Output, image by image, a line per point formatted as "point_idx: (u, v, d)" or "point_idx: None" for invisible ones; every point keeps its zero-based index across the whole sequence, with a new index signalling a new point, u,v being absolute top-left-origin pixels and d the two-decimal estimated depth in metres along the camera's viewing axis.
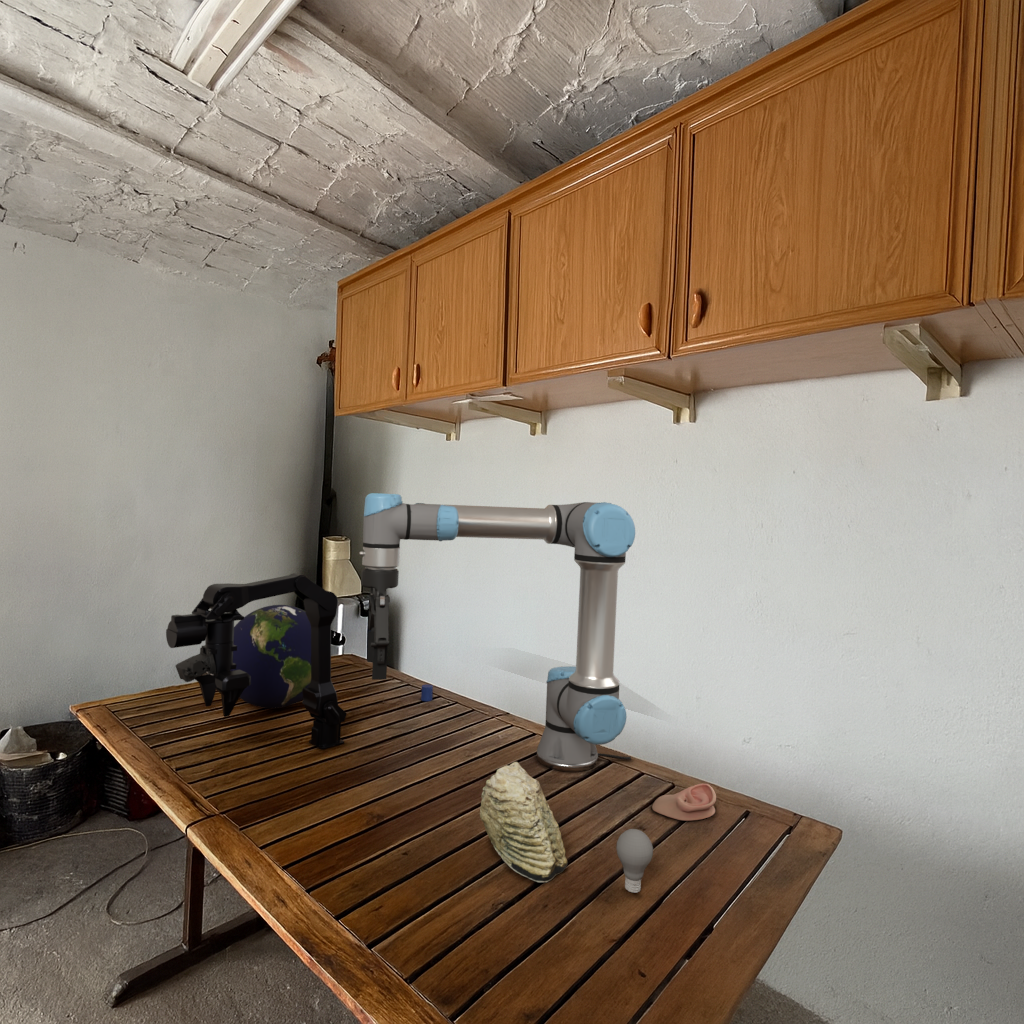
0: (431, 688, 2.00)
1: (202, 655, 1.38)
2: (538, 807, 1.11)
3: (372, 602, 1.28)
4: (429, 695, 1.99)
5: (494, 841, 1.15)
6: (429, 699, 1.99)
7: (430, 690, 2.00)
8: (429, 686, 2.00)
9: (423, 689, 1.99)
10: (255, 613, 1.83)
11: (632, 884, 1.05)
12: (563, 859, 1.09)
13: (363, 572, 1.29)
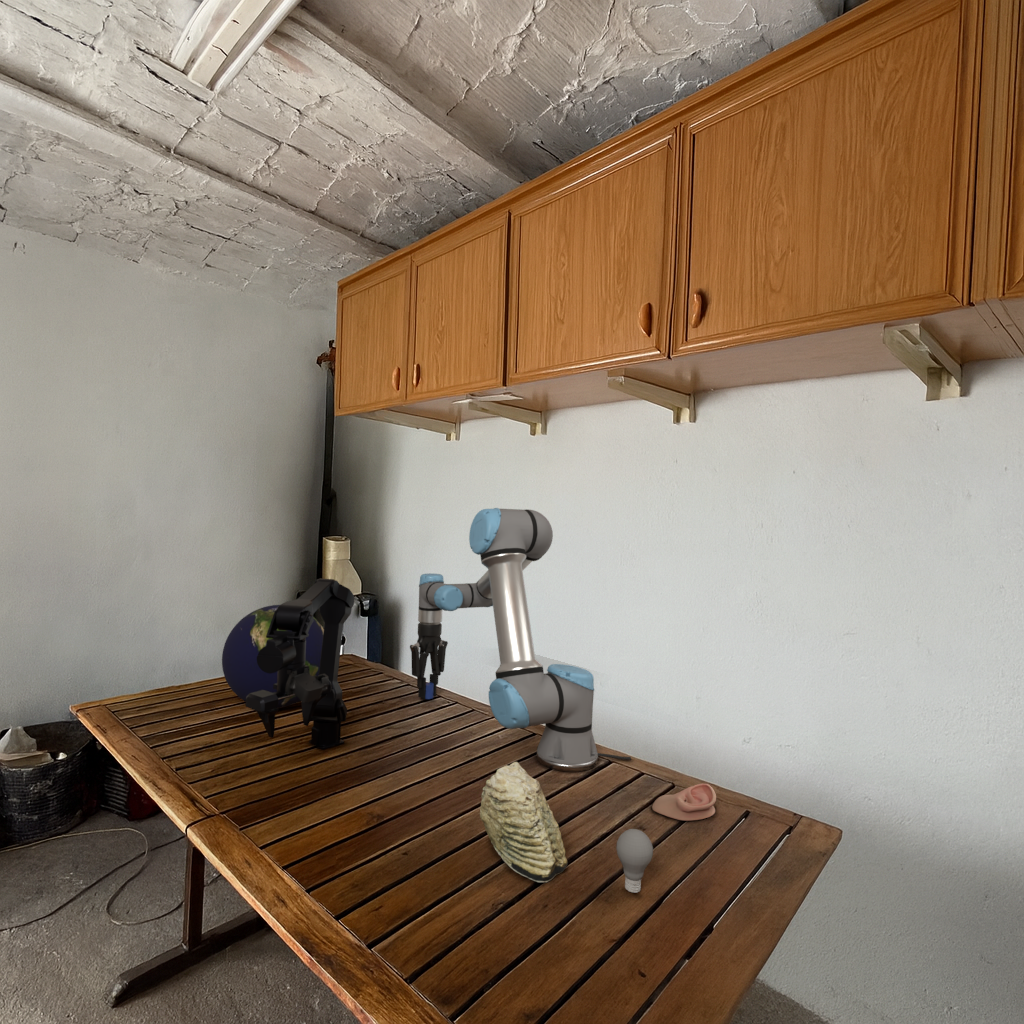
0: (432, 686, 2.00)
1: (301, 676, 1.38)
2: (538, 807, 1.11)
3: None
4: (430, 692, 1.99)
5: (494, 841, 1.15)
6: (430, 697, 1.99)
7: (431, 688, 1.99)
8: (430, 684, 2.00)
9: None
10: (255, 613, 1.83)
11: (632, 884, 1.05)
12: (563, 859, 1.09)
13: None
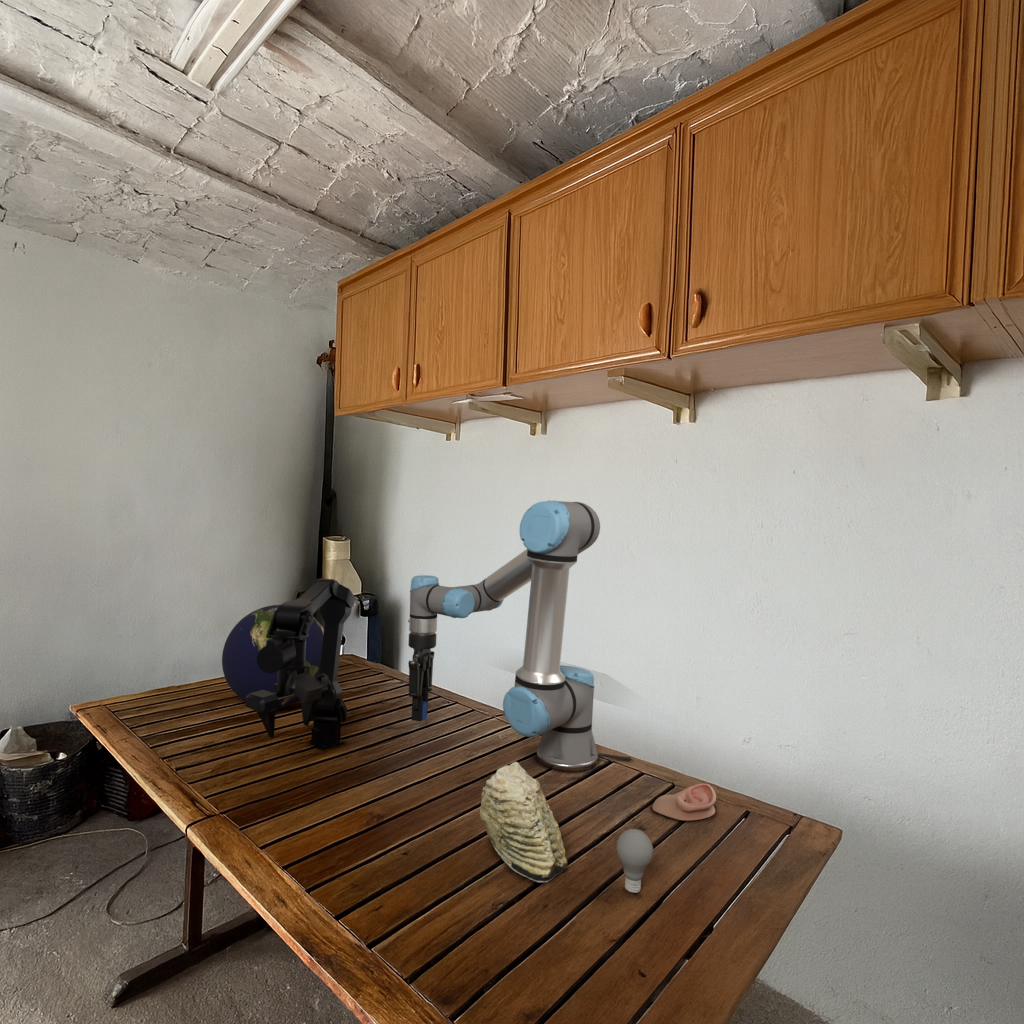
0: None
1: (301, 676, 1.38)
2: (538, 807, 1.11)
3: None
4: (426, 712, 1.73)
5: (494, 841, 1.15)
6: (425, 718, 1.72)
7: (426, 707, 1.73)
8: (424, 702, 1.73)
9: None
10: (255, 613, 1.83)
11: (632, 884, 1.05)
12: (563, 859, 1.09)
13: None
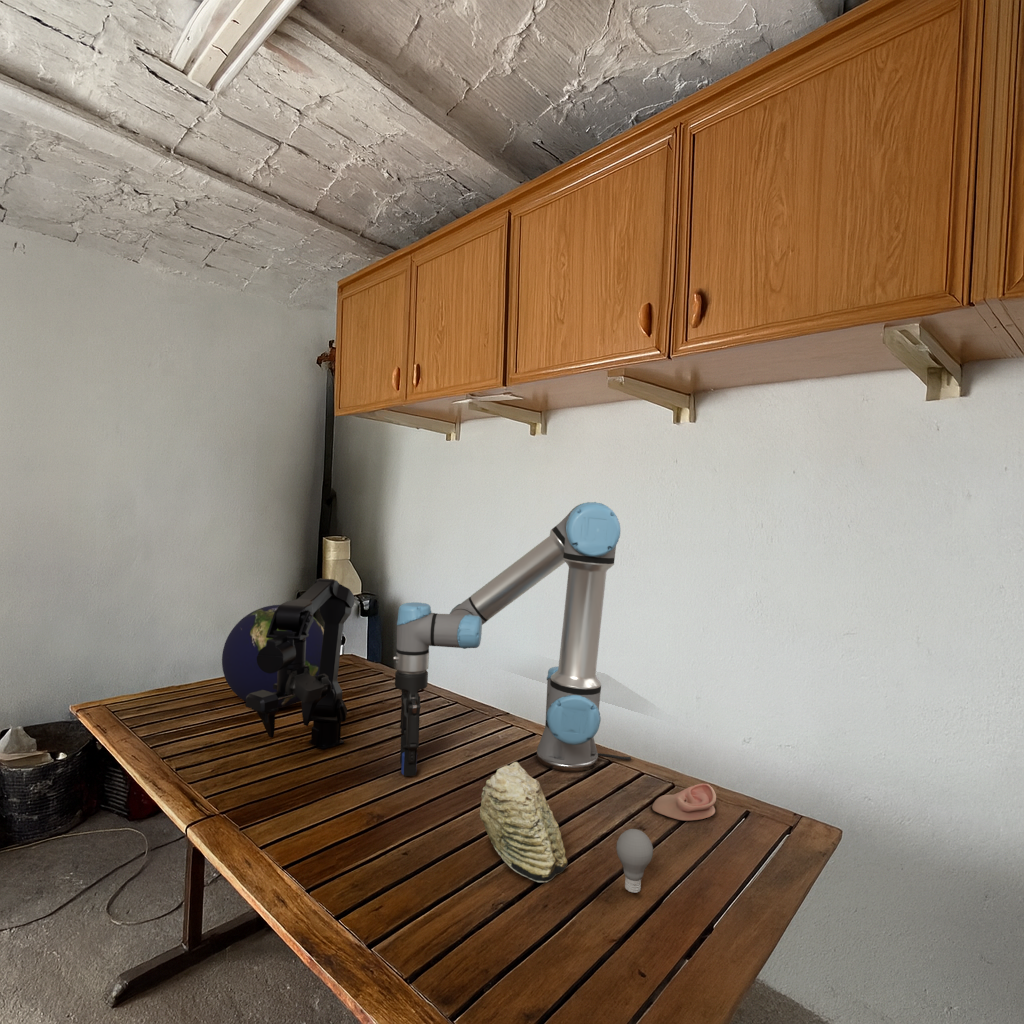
0: None
1: (301, 676, 1.38)
2: (538, 807, 1.11)
3: (405, 704, 1.45)
4: (416, 763, 1.48)
5: (494, 841, 1.15)
6: None
7: None
8: None
9: None
10: (255, 613, 1.83)
11: (632, 884, 1.05)
12: (563, 859, 1.09)
13: (397, 676, 1.45)
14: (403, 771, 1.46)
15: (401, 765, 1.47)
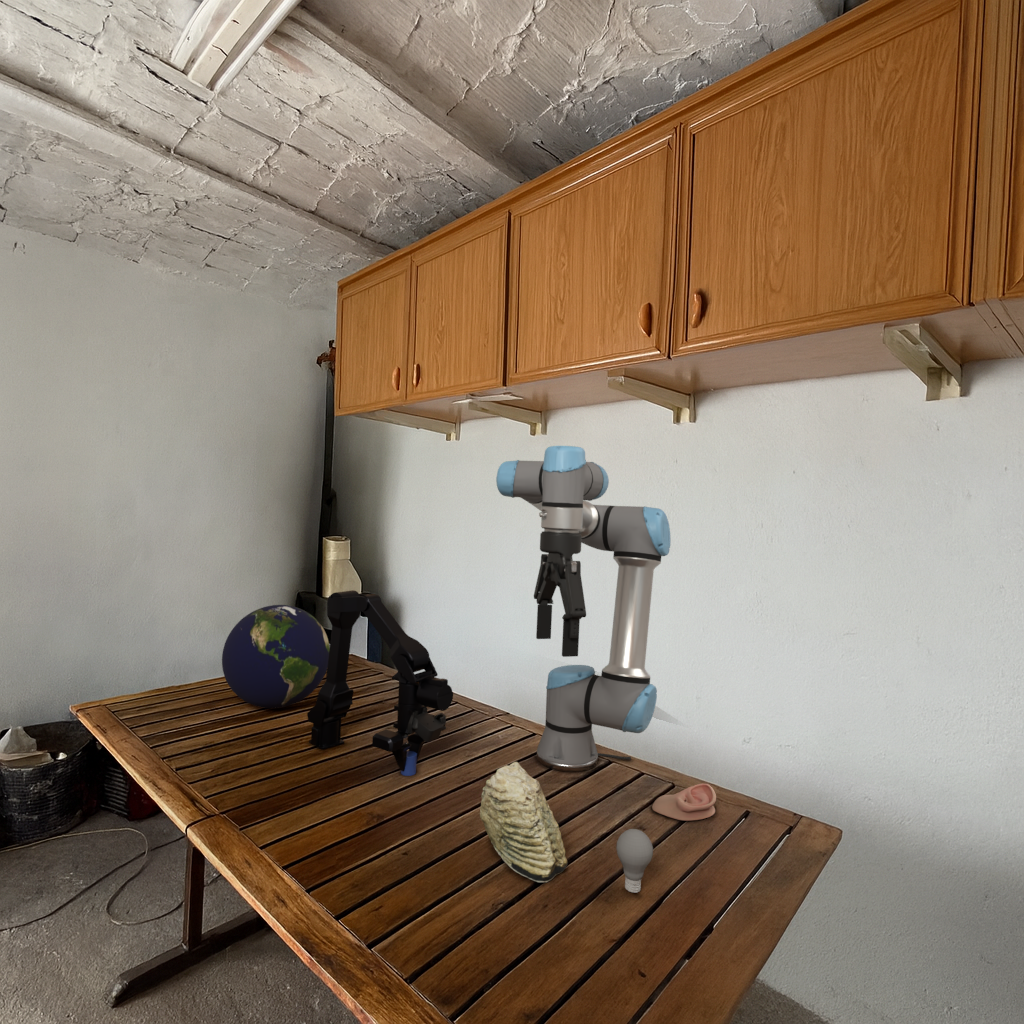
0: None
1: (421, 715, 1.45)
2: (538, 807, 1.11)
3: (556, 569, 1.13)
4: None
5: (494, 841, 1.15)
6: None
7: None
8: (412, 753, 1.48)
9: (411, 760, 1.46)
10: (255, 613, 1.83)
11: (632, 884, 1.05)
12: (563, 859, 1.09)
13: (545, 535, 1.13)
14: (403, 771, 1.46)
15: None
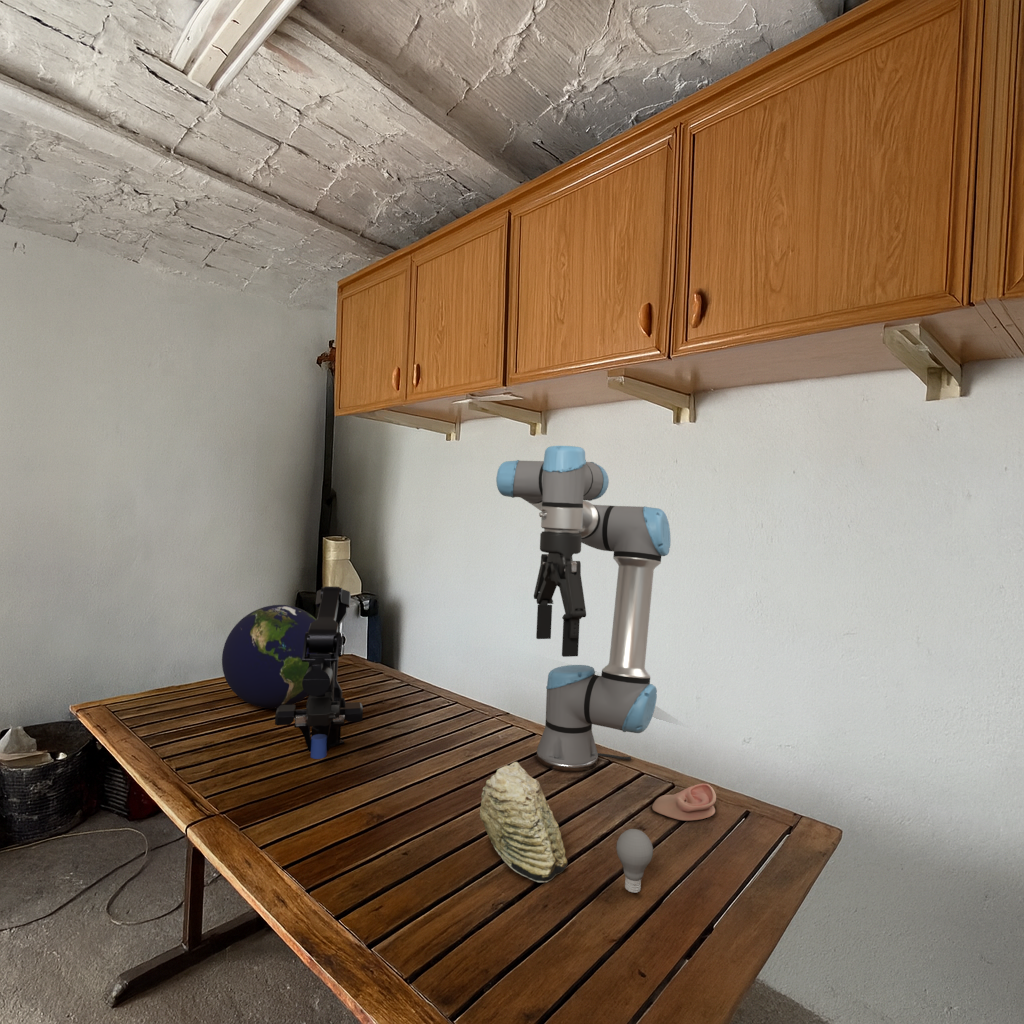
0: (326, 739, 1.43)
1: (319, 698, 1.40)
2: (538, 807, 1.11)
3: (556, 569, 1.13)
4: (324, 749, 1.43)
5: (494, 841, 1.15)
6: (323, 756, 1.42)
7: (325, 742, 1.43)
8: (323, 737, 1.43)
9: (315, 742, 1.42)
10: (255, 613, 1.83)
11: (632, 884, 1.05)
12: (563, 859, 1.09)
13: (545, 535, 1.13)
14: None
15: None
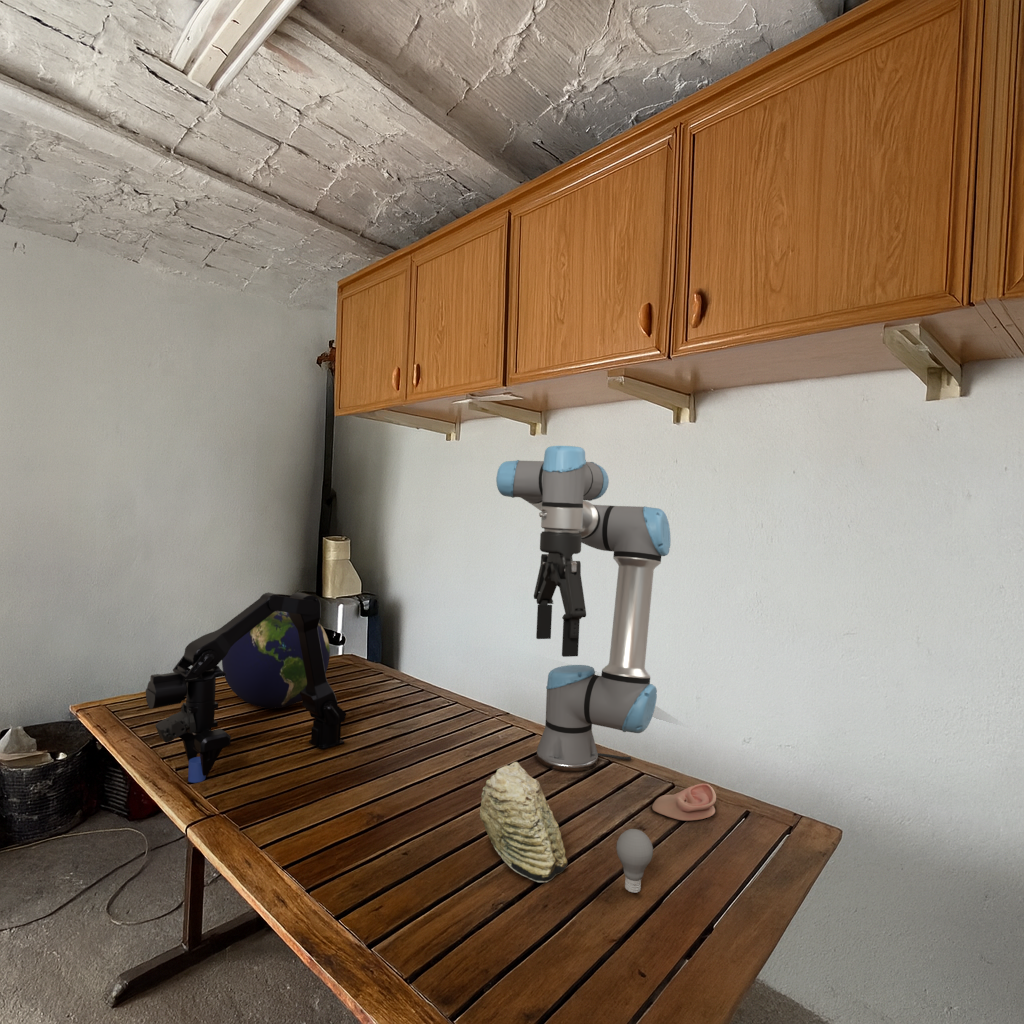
0: (196, 765, 1.38)
1: (182, 714, 1.37)
2: (538, 807, 1.11)
3: (556, 569, 1.13)
4: (193, 774, 1.37)
5: (494, 841, 1.15)
6: (192, 780, 1.38)
7: (194, 767, 1.38)
8: (197, 761, 1.38)
9: None
10: None
11: (632, 884, 1.05)
12: (563, 859, 1.09)
13: (545, 535, 1.13)
14: None
15: None
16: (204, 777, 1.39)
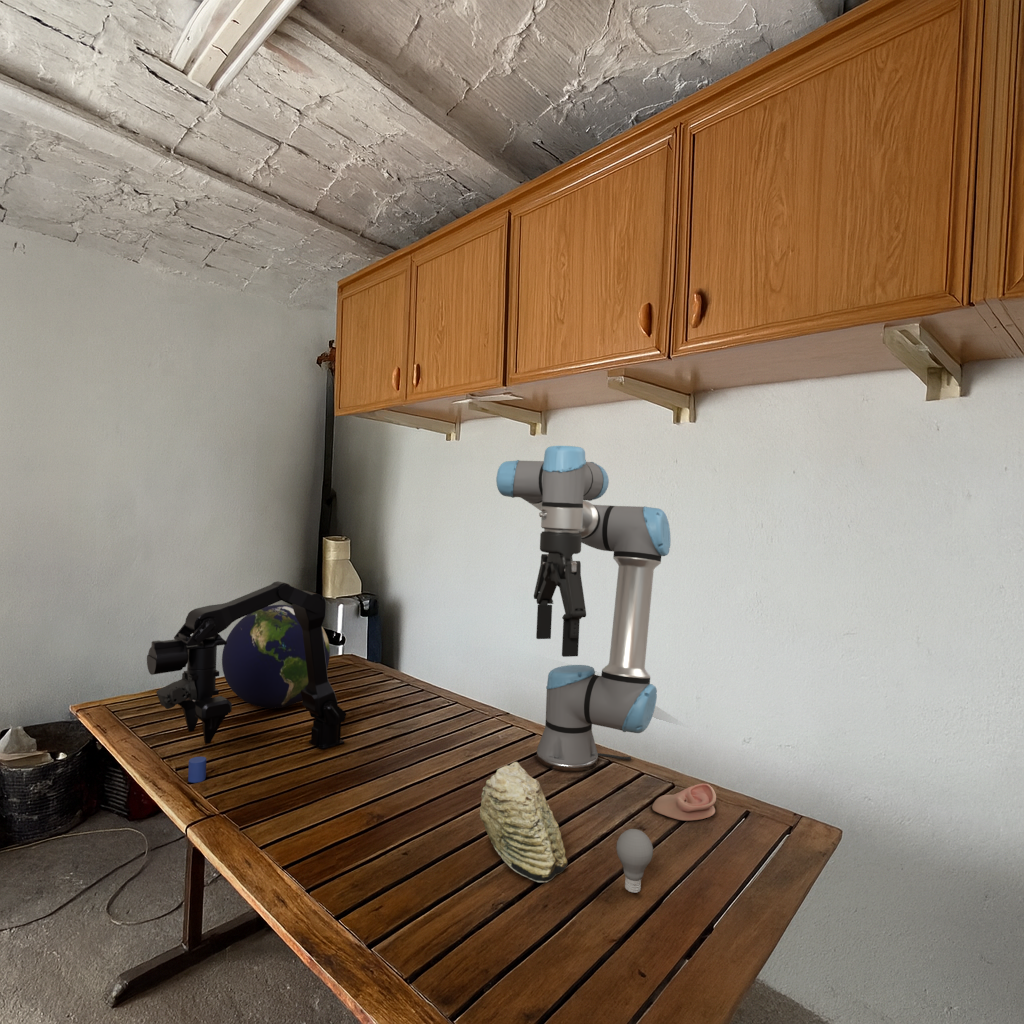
0: (196, 765, 1.38)
1: (183, 681, 1.37)
2: (538, 807, 1.11)
3: (556, 569, 1.13)
4: (193, 774, 1.37)
5: (494, 841, 1.15)
6: (192, 780, 1.38)
7: (194, 767, 1.38)
8: (197, 761, 1.38)
9: None
10: (255, 613, 1.83)
11: (632, 884, 1.05)
12: (563, 859, 1.09)
13: (545, 535, 1.13)
14: None
15: None
16: (204, 777, 1.39)
